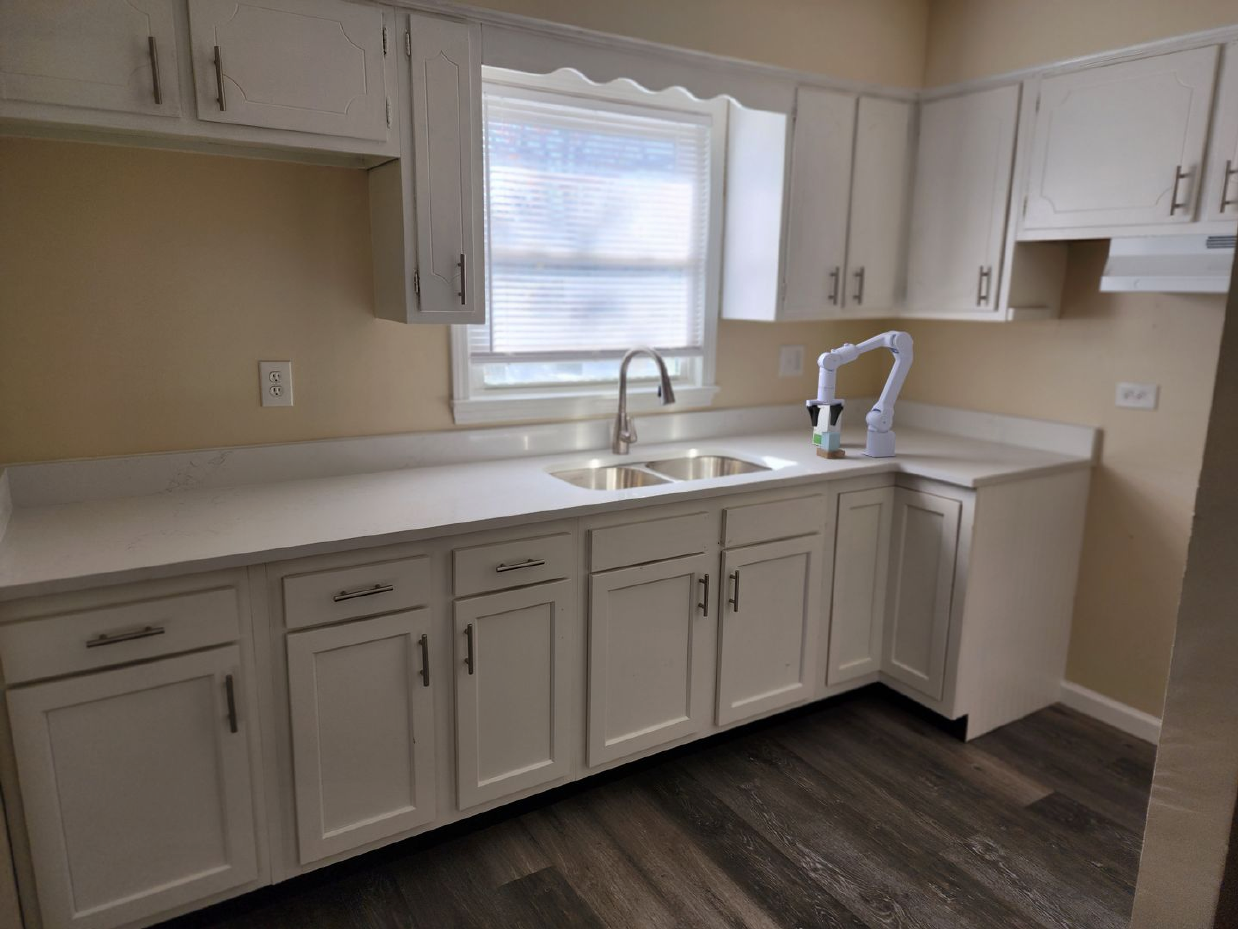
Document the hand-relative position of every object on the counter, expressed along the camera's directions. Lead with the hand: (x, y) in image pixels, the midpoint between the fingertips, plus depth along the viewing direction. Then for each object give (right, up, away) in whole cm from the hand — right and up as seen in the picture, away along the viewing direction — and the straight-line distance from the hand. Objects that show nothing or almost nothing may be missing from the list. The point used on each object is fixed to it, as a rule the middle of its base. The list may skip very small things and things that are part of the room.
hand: (823, 425), depth 287 cm
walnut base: (+2, -11, 0) cm, 11 cm away
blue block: (+2, -8, -1) cm, 9 cm away
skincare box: (+6, -7, +21) cm, 23 cm away
